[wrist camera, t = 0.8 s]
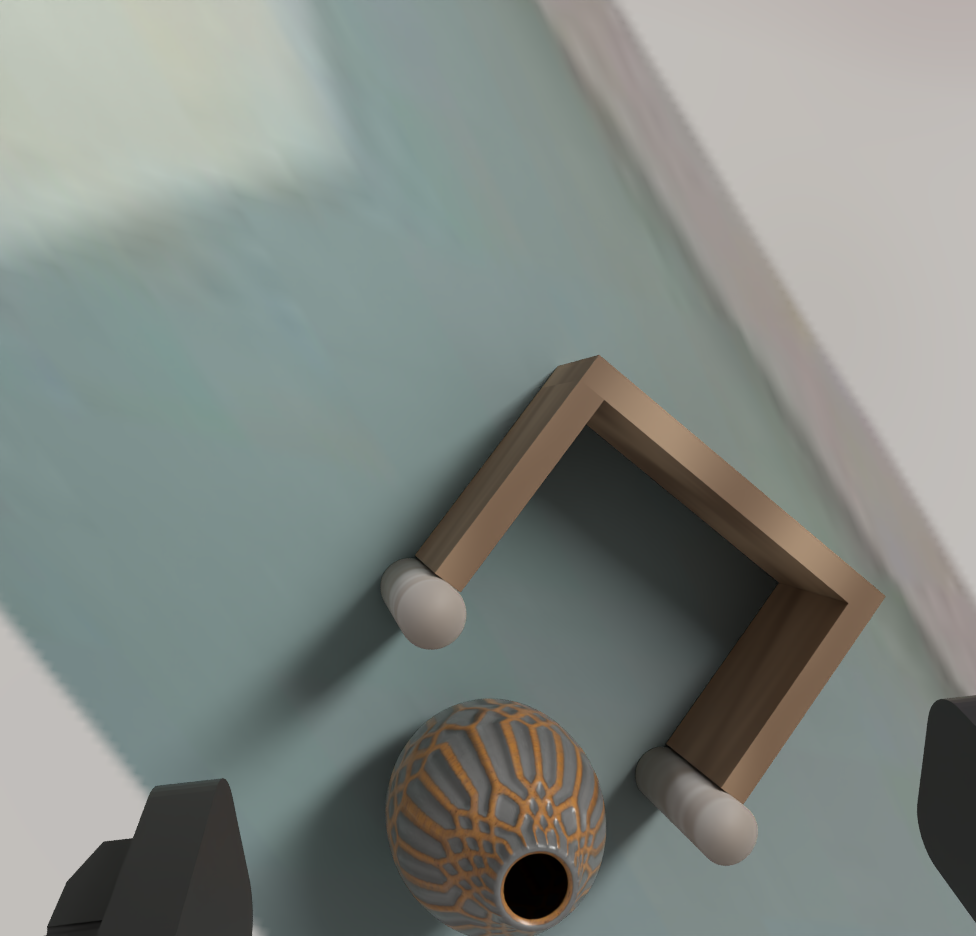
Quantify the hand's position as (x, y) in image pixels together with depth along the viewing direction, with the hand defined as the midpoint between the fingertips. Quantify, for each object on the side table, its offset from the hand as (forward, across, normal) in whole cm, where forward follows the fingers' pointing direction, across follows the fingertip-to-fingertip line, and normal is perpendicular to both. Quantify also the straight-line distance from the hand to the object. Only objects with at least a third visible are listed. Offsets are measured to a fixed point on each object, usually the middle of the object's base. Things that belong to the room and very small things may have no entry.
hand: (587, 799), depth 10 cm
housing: (+22, -5, +9) cm, 24 cm away
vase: (+19, +1, +15) cm, 24 cm away
